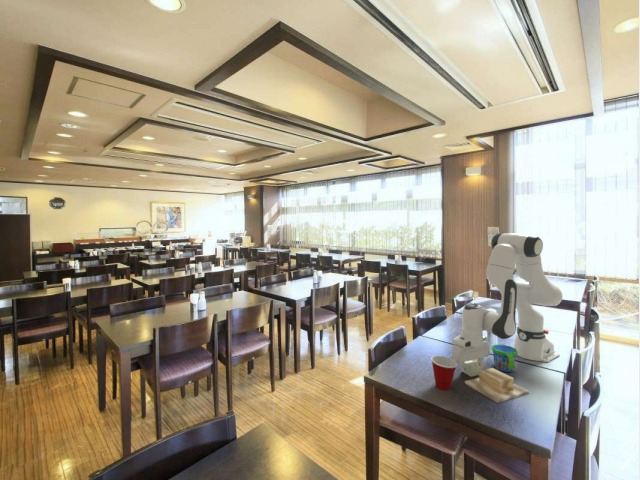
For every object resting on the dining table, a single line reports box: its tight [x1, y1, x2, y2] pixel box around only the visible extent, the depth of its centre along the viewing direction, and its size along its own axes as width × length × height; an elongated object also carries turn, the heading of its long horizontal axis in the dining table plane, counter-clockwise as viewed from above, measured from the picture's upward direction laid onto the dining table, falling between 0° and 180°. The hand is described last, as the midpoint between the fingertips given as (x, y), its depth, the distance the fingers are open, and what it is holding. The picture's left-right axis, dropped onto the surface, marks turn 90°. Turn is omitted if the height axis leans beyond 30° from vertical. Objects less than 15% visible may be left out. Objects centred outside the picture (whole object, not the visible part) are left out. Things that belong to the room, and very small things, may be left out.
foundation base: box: [464, 367, 530, 404], centre depth 134 cm, size 18×16×6 cm
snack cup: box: [491, 344, 518, 373], centre depth 151 cm, size 16×10×10 cm
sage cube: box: [461, 360, 480, 378], centre depth 147 cm, size 5×5×5 cm
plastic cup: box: [430, 355, 459, 392], centre depth 135 cm, size 11×11×12 cm
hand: (470, 368), depth 147 cm, fingers open, 8 cm apart
